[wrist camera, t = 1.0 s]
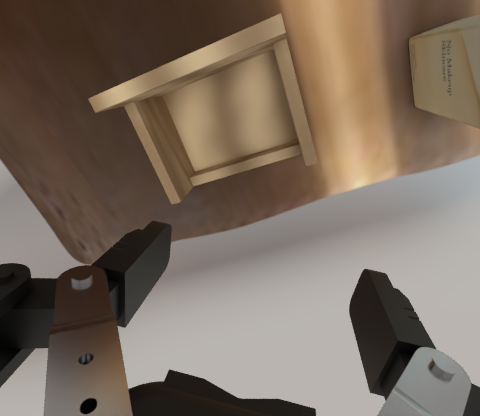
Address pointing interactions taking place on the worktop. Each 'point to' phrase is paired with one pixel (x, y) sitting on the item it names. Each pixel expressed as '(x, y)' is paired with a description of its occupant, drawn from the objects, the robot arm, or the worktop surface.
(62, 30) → the worktop surface
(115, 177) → the worktop surface
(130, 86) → the caddy
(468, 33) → the skincare box
